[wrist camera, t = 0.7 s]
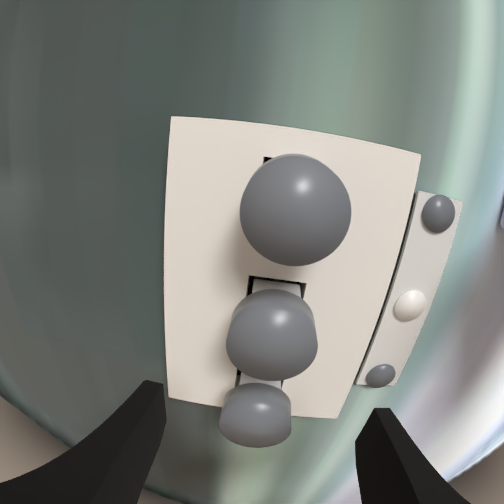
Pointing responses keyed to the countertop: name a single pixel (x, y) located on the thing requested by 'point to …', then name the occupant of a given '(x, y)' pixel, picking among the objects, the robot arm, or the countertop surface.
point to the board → (252, 263)
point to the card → (411, 287)
